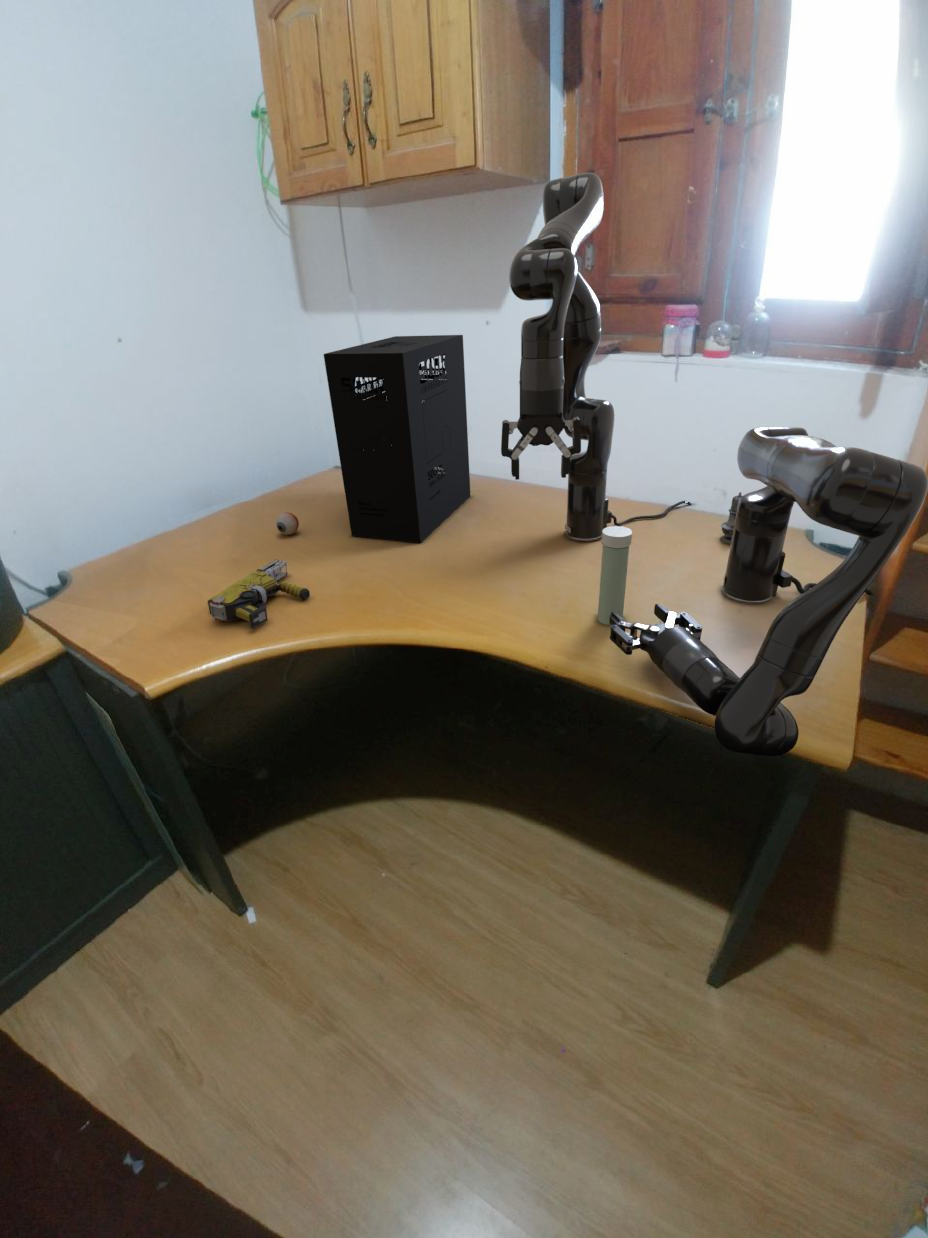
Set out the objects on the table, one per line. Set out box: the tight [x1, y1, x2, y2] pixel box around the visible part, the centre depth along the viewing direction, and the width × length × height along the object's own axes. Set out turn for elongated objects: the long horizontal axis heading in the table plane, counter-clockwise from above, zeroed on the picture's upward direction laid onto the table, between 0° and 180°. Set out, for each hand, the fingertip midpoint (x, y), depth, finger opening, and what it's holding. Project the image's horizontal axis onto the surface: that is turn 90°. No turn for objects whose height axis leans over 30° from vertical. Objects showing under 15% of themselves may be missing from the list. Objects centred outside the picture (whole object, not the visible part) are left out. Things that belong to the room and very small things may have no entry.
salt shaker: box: [719, 491, 743, 545], centre depth 143 cm, size 6×6×12 cm
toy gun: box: [207, 558, 311, 629], centre depth 130 cm, size 5×24×15 cm
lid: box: [601, 525, 633, 548], centre depth 109 cm, size 5×5×2 cm
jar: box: [597, 544, 630, 626], centre depth 113 cm, size 5×5×18 cm
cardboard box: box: [323, 334, 471, 544], centre depth 162 cm, size 38×20×45 cm, turn 159°
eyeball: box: [275, 511, 300, 536], centre depth 163 cm, size 6×6×6 cm
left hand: (540, 477), depth 112 cm, fingers open, 8 cm apart
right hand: (634, 612), depth 107 cm, fingers open, 8 cm apart
